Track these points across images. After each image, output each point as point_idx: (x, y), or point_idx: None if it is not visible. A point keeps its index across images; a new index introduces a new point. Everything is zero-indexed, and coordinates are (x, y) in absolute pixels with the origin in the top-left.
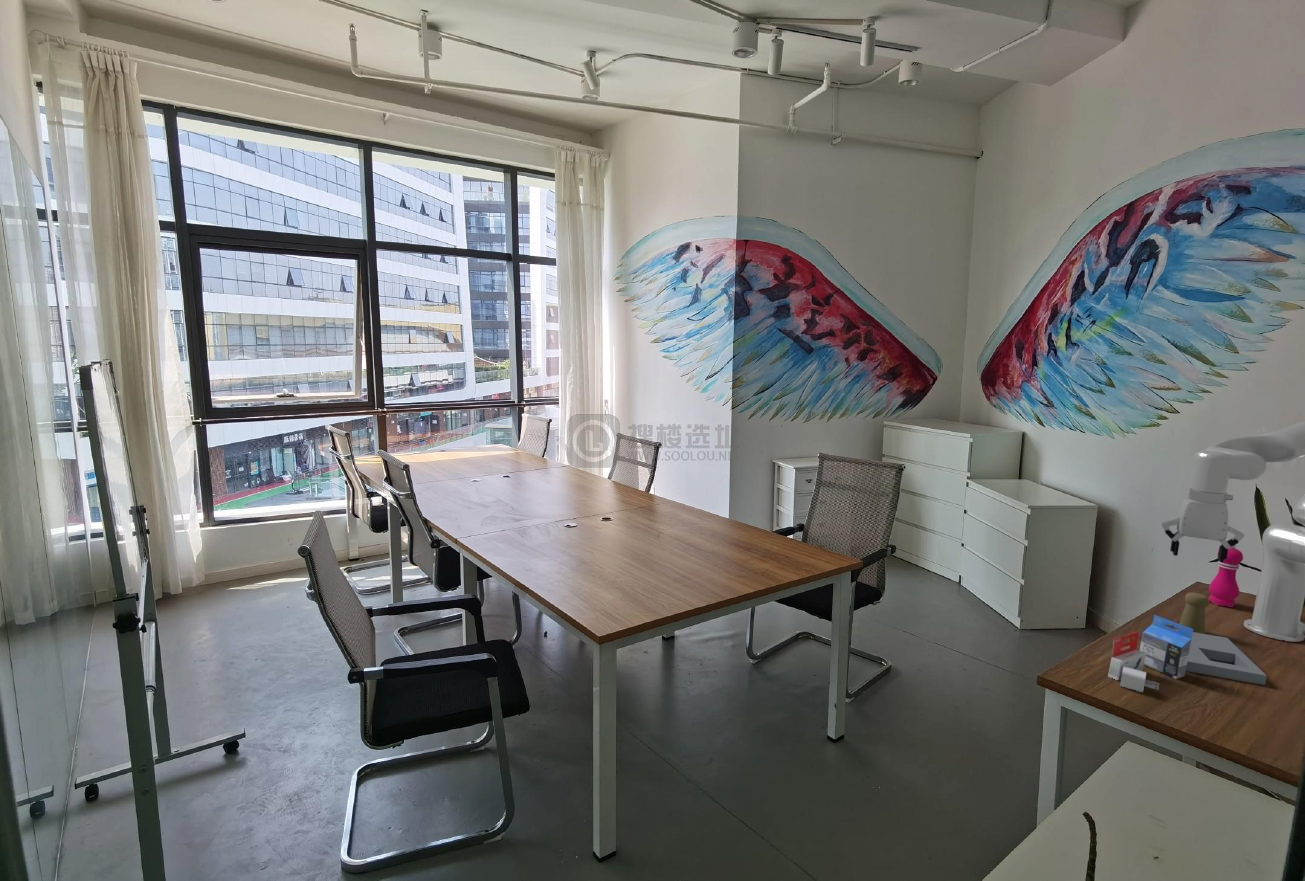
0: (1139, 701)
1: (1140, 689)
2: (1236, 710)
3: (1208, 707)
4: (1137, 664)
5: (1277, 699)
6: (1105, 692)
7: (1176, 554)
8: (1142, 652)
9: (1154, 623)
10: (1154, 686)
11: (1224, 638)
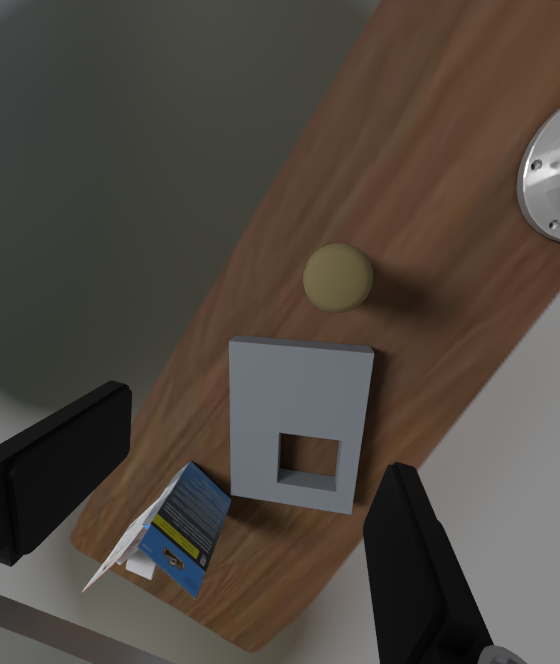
0: (156, 571)
1: None
2: (264, 571)
3: (232, 570)
4: None
5: (341, 534)
6: None
7: (117, 459)
8: None
9: (151, 531)
10: None
11: (364, 361)
